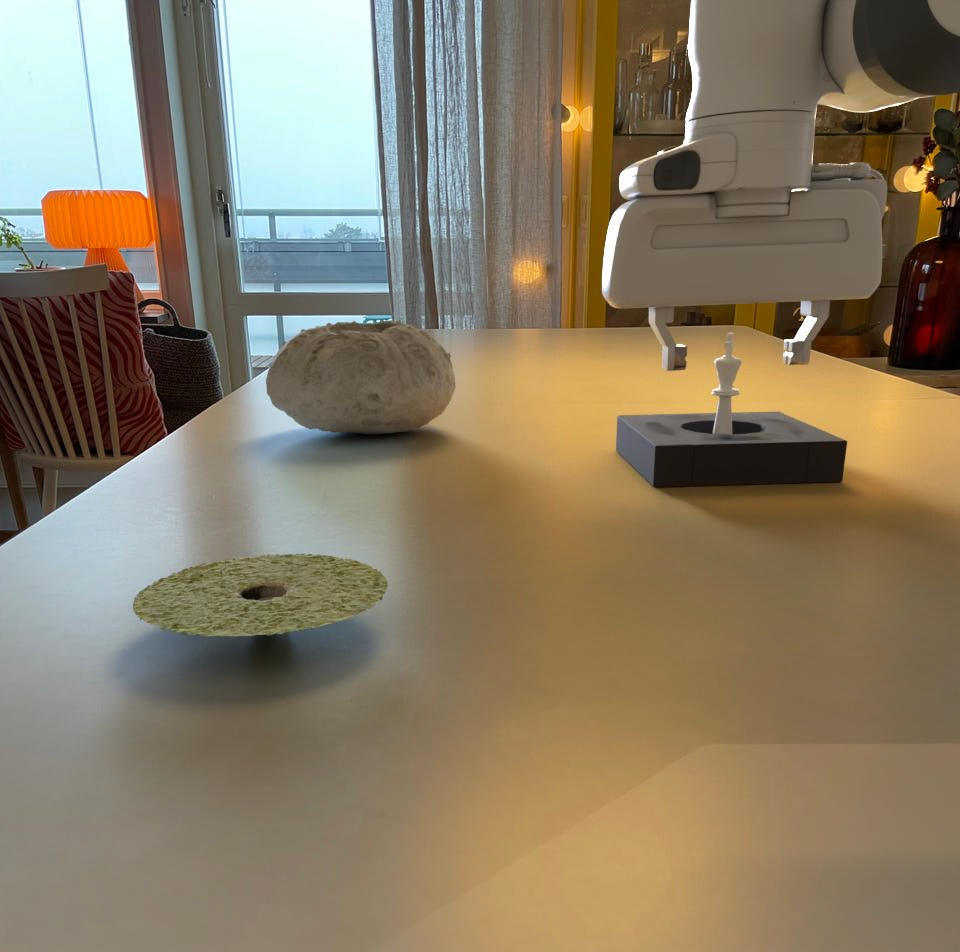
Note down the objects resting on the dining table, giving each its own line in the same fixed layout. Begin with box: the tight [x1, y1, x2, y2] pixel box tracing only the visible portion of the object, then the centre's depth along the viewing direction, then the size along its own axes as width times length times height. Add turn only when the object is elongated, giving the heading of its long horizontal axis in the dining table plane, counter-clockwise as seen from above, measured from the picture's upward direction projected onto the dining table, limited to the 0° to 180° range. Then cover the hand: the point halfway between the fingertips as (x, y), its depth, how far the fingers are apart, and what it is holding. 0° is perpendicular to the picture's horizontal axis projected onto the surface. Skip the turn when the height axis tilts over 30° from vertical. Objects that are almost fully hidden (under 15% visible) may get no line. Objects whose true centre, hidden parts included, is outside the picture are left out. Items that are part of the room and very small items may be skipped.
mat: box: [132, 553, 389, 638], centre depth 44 cm, size 11×11×2 cm
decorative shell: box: [265, 320, 456, 435], centre depth 92 cm, size 18×18×10 cm
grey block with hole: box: [615, 411, 848, 488], centre depth 76 cm, size 14×14×3 cm
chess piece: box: [711, 332, 743, 434], centre depth 75 cm, size 5×5×10 cm
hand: (734, 367), depth 74 cm, fingers open, 8 cm apart
